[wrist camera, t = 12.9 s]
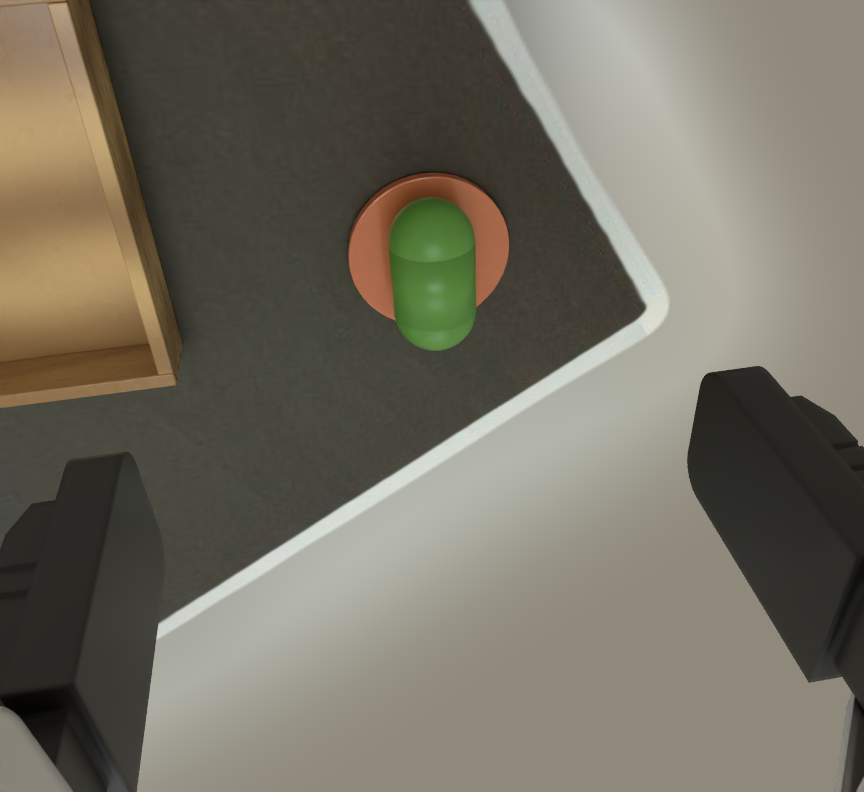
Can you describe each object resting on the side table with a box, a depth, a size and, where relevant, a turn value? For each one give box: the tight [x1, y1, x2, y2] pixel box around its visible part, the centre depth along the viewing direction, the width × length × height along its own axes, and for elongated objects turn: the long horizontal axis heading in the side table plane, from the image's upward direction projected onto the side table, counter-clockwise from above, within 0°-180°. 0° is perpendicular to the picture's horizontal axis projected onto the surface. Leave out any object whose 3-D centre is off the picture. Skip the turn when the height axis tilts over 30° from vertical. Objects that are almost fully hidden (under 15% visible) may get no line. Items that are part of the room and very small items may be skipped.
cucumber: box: [388, 197, 476, 351], centre depth 39 cm, size 8×4×4 cm, turn 3°
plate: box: [348, 172, 509, 320], centre depth 41 cm, size 8×8×1 cm
